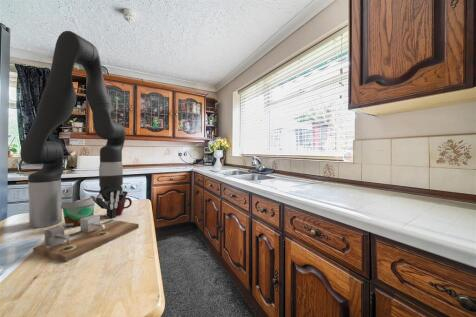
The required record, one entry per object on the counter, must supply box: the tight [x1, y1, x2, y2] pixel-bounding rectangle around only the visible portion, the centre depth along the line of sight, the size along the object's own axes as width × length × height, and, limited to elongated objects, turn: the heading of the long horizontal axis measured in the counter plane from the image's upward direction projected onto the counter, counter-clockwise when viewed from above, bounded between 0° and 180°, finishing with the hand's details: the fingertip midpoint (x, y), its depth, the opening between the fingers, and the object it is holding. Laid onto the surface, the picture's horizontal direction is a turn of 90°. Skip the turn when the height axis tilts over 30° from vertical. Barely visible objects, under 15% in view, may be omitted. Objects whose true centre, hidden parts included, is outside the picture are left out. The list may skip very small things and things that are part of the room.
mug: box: [114, 196, 133, 217], centre depth 88 cm, size 10×8×10 cm
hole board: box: [32, 219, 140, 263], centre depth 64 cm, size 14×24×6 cm, turn 162°
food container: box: [61, 195, 96, 228], centre depth 77 cm, size 12×6×10 cm, turn 168°
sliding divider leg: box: [79, 214, 104, 232], centre depth 65 cm, size 8×4×4 cm, turn 72°
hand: (111, 218), depth 73 cm, fingers closed
